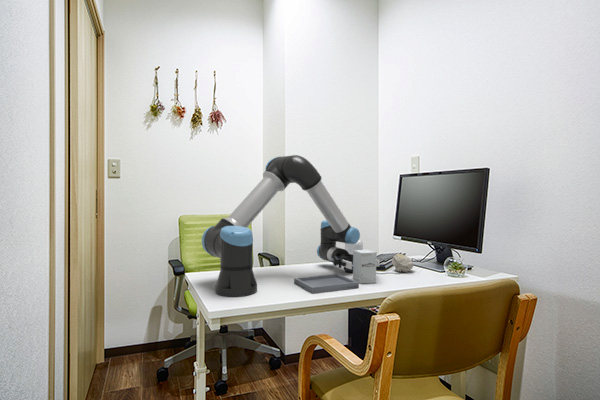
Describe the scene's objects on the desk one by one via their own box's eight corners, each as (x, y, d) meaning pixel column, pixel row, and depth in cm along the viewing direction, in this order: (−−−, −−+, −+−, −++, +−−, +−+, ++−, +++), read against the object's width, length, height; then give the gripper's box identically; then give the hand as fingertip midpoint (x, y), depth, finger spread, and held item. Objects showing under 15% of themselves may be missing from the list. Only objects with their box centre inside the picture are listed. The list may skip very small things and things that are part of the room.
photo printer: (343, 261, 198) (343, 238, 197) (349, 260, 200) (349, 237, 200) (358, 264, 190) (358, 240, 189) (363, 263, 192) (364, 239, 192)
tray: (312, 293, 136) (312, 287, 136) (294, 283, 150) (294, 278, 150) (358, 288, 144) (358, 282, 144) (337, 278, 159) (337, 273, 159)
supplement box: (359, 284, 150) (360, 252, 150) (352, 279, 157) (352, 249, 157) (376, 283, 152) (377, 252, 152) (368, 278, 159) (368, 249, 159)
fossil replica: (409, 268, 182) (388, 270, 181) (407, 251, 182) (387, 253, 182) (418, 272, 170) (396, 274, 169) (416, 253, 170) (394, 255, 170)
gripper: (360, 262, 180) (389, 271, 161) (314, 266, 169) (338, 276, 150) (361, 246, 180) (389, 253, 160) (314, 249, 169) (339, 257, 150)
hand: (365, 264), depth 155 cm, fingers open, 13 cm apart
